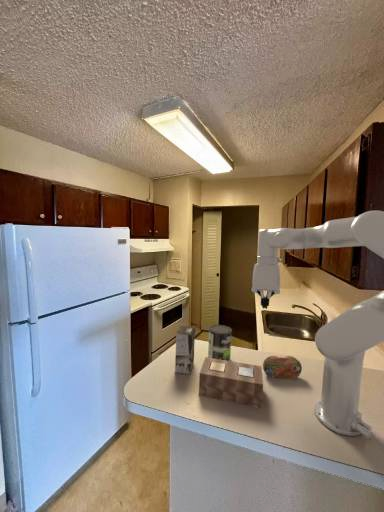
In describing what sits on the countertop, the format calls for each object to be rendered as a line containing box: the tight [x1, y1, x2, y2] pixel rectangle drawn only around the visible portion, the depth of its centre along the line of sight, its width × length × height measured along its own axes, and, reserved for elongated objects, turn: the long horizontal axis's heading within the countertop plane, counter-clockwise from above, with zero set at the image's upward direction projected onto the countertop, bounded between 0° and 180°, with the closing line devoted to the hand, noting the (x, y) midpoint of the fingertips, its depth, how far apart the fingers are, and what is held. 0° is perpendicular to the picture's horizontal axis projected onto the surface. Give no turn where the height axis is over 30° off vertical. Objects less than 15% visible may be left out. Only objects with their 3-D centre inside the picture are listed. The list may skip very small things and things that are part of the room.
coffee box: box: [174, 325, 196, 375], centre depth 95 cm, size 9×6×16 cm
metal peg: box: [238, 367, 253, 378], centre depth 80 cm, size 5×5×8 cm
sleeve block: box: [198, 356, 264, 409], centre depth 81 cm, size 21×11×8 cm, turn 76°
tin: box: [262, 355, 303, 380], centre depth 91 cm, size 15×3×8 cm, turn 92°
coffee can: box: [207, 324, 233, 361], centre depth 103 cm, size 10×10×14 cm
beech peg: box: [210, 362, 225, 373], centre depth 83 cm, size 5×5×8 cm
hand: (264, 307), depth 89 cm, fingers closed
